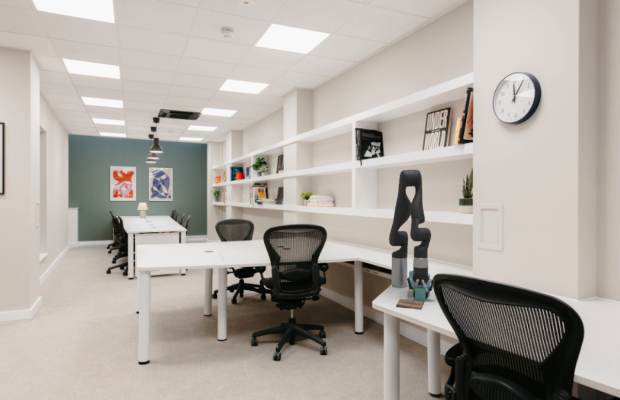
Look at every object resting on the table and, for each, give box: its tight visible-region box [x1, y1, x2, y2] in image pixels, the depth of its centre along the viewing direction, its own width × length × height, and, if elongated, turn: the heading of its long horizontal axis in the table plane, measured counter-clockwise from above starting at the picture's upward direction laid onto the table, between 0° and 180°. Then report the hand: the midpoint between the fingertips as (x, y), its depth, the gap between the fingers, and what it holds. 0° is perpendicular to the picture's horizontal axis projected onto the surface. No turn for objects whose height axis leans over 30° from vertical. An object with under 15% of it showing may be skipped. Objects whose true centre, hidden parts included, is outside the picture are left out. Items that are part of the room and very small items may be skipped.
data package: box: [408, 270, 431, 295], centre depth 212 cm, size 12×4×12 cm, turn 28°
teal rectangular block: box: [414, 286, 427, 302], centre depth 198 cm, size 5×5×7 cm
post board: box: [395, 288, 425, 310], centre depth 189 cm, size 12×12×7 cm
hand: (420, 298), depth 198 cm, fingers closed on teal rectangular block, 5 cm apart
